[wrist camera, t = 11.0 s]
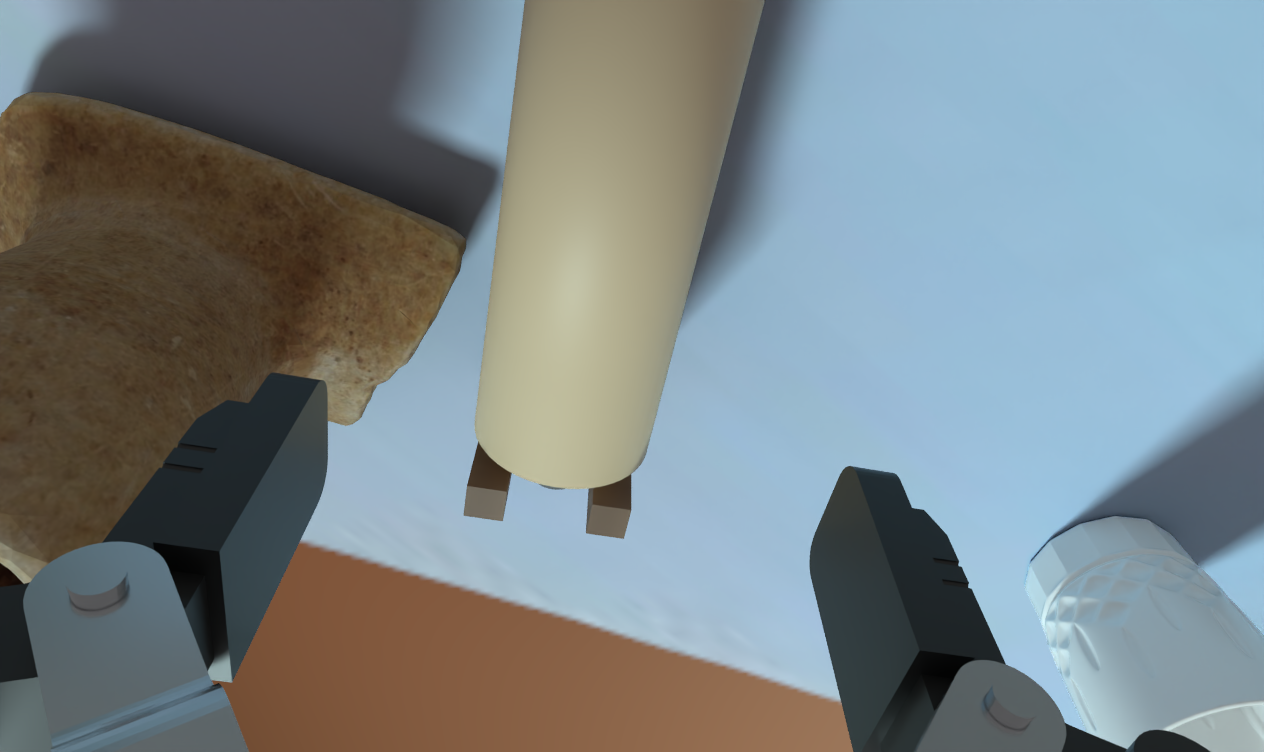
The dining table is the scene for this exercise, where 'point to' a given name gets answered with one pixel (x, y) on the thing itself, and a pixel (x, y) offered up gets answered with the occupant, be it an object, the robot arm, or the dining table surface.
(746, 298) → the dining table surface
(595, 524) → the roll stand
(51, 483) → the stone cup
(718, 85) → the cylinder
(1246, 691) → the white cup
